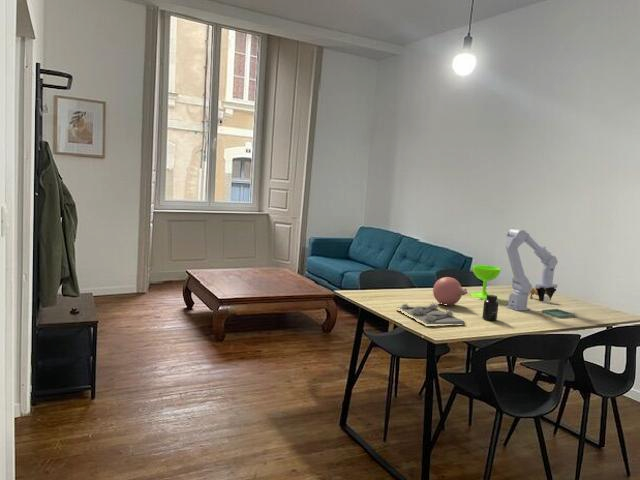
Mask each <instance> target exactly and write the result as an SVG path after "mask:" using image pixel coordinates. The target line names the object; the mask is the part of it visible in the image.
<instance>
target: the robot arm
mask: <svg viewBox="0 0 640 480" xmlns="http://www.w3.org/2000/svg"><path fill="white" fill-rule="evenodd" d="M505 236H506V242H505V243H506V244H505V249H506V253H507V257H508V261H509V264H510V268H511V271H512V275H513V277H512V278H511V281H512V282H511V284H512V285H511V287H512V289H513V292H511V293H509V296H508V303H507V304H508V305H507V306H506V308H508V309H511V310H514V311H529V310H531V308H528V299H529V296H528V295H529V293H530V292H531V290H532V288H533V285H532V283H530V281H529V278H528V277H527V276H526V275H525V270H524V268H523V265H522V261H521V260H522V259H521V257H520V253H519V250H518V248H519V247H520V246H521V245H522V244H523V243H525V244H526V245H528V246H529V247H530V248H531V249H532V250H533V253H534V254H535V256H537V257H538V258H539V259H540V262H541V263H542V270H541V271H542V273H541V281H540V283H537V284H535V287H534V288H536V290H537V292H538V295H537V296H538V301H539V302H541V301H543V300H544V295H545V292H546V293H547V295H548V296H549V297H550V301H551V300H552V297H553V296H554V294H555V293H556V291H557V288H558V284H557V283H554V274H555V268H556V266H557V265H558V257H556V256H555V255H552V252H550V251H549V250H547V249H546V248H547V247H546V246H543V245H539V244H538V243H537V242H536V241H535V239H533V238H532V236H531V235H530V233H528V232H527V231H526V230H525V229H517V228H514V227H512V228H510V229H509V230H507V233H506V234H505ZM544 288H546V290H545V289H544Z"/></svg>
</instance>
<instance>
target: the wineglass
mask: <svg viewBox="0 0 640 480" xmlns="http://www.w3.org/2000/svg"><path fill="white" fill-rule="evenodd" d="M501 269H502V268H501V267H498V266H491V265H487V264H486V265H484V264H474V265H472V272H473V274H474V276H475V277H476V278H477V279H479V280H480V281H483V282H482V290H481V292H472V293H470V294H471V295H472V296H473V297H476V298H480V299H485V300H487V299H486V298H487V295H492V294H491V293H487V282H489V281H493V280H494V279H497V278H498V276H499V275H500V273H501ZM480 299H479V300H480ZM485 300H484V301H485ZM497 300H499V299H498V297H497Z"/></svg>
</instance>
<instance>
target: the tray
mask: <svg viewBox="0 0 640 480" xmlns="http://www.w3.org/2000/svg"><path fill="white" fill-rule="evenodd" d="M541 311H542V312H541V313H542V314H545V315H549V316H552V317H555V318H557V319H565V318H567V319H568V318H575V317H576V314H575V313H572V312H569V311H566V310H563V309H559V308H553V309H552V308H551V309H549V308H548V309H542V310H541Z"/></svg>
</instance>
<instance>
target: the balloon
mask: <svg viewBox="0 0 640 480" xmlns="http://www.w3.org/2000/svg"><path fill="white" fill-rule="evenodd" d="M432 294H433V297H434V299H435V300H436V301H437V302H438V303H439V304H441V303H442V304H441V305H443V304H447V305H446V306H452V305H455V304H457V303H458V302H459V301H460V300H461V299H462V296H465V295H467V294H468V291H467V288H465V287H464V288H463V287H462V285H461V283H460V282H459V281H458V280H457V279H456V278H454V277H451V276H450V277H449V276H445V277H441V278H439V279H437V281H436V282H435V283H434V285H433V289H432Z"/></svg>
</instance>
